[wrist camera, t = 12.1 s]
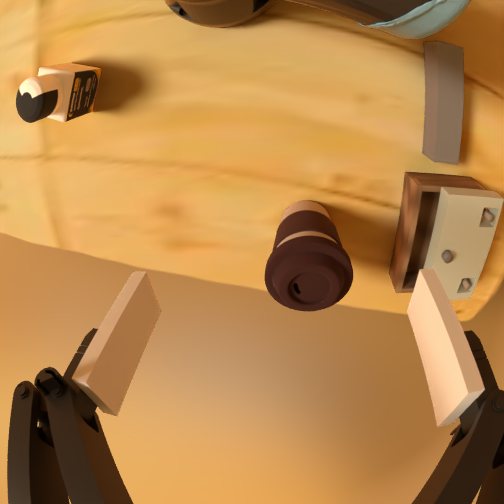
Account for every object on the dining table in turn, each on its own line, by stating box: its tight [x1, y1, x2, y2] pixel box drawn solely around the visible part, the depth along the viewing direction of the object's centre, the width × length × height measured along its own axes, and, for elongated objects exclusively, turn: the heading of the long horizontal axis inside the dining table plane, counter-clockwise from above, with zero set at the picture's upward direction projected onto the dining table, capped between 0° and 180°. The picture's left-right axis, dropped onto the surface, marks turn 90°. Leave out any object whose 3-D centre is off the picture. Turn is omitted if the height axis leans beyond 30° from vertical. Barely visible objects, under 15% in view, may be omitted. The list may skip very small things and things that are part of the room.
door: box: [423, 187, 504, 300], centre depth 35 cm, size 18×10×4 cm, turn 6°
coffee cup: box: [265, 201, 353, 311], centre depth 37 cm, size 10×10×15 cm
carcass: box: [389, 172, 493, 293], centre depth 38 cm, size 18×12×8 cm
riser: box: [422, 41, 464, 164], centre depth 28 cm, size 16×4×4 cm, turn 6°
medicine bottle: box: [16, 63, 102, 123], centre depth 29 cm, size 7×7×12 cm
